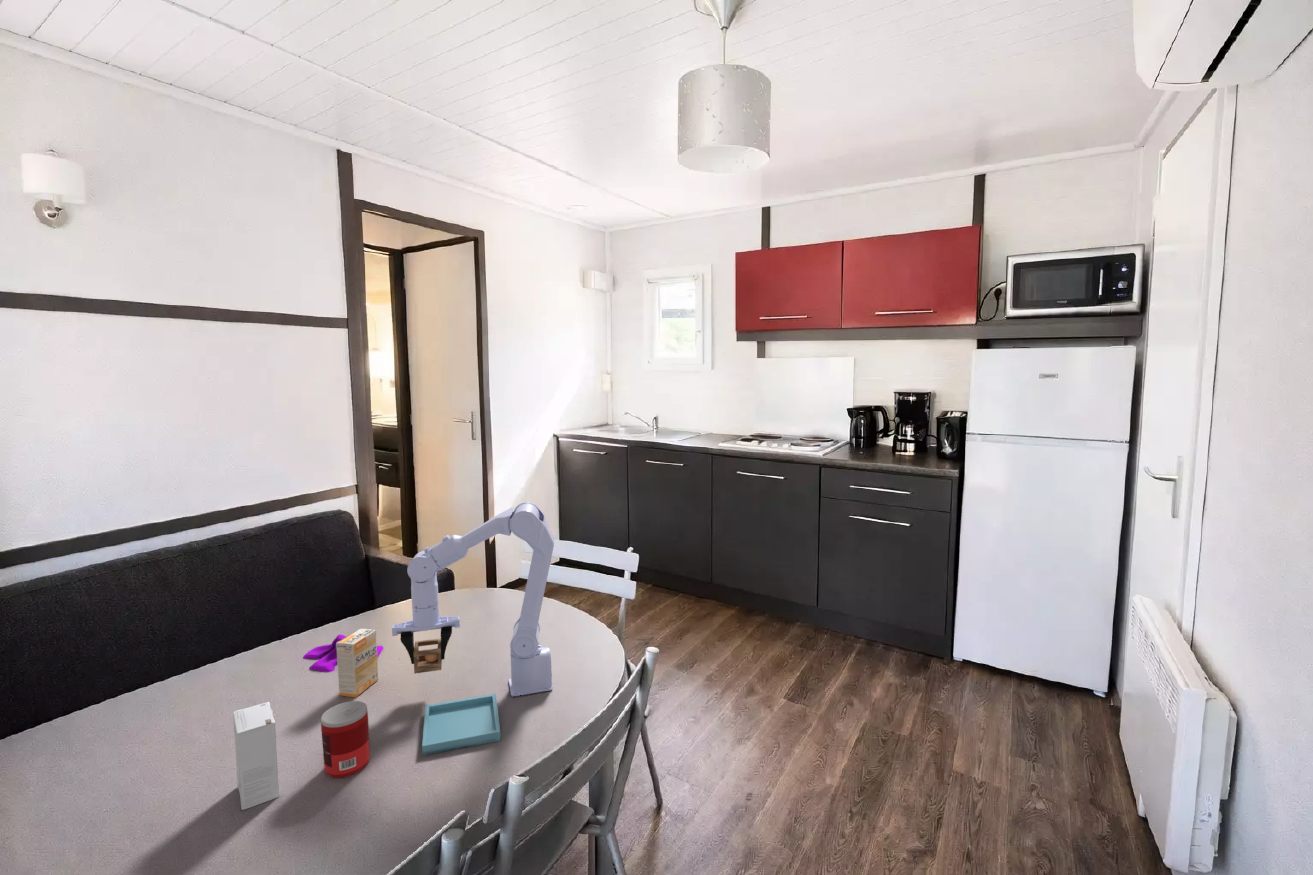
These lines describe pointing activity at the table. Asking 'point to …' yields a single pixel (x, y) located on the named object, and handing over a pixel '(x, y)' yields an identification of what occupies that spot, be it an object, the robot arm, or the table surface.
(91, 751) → the table surface
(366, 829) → the table surface
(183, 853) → the table surface
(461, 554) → the robot arm
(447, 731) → the tray
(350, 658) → the supplement box
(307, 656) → the cloth
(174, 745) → the table surface
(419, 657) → the wooden cage puzzle
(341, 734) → the canned food
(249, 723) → the skincare box
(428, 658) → the ball
